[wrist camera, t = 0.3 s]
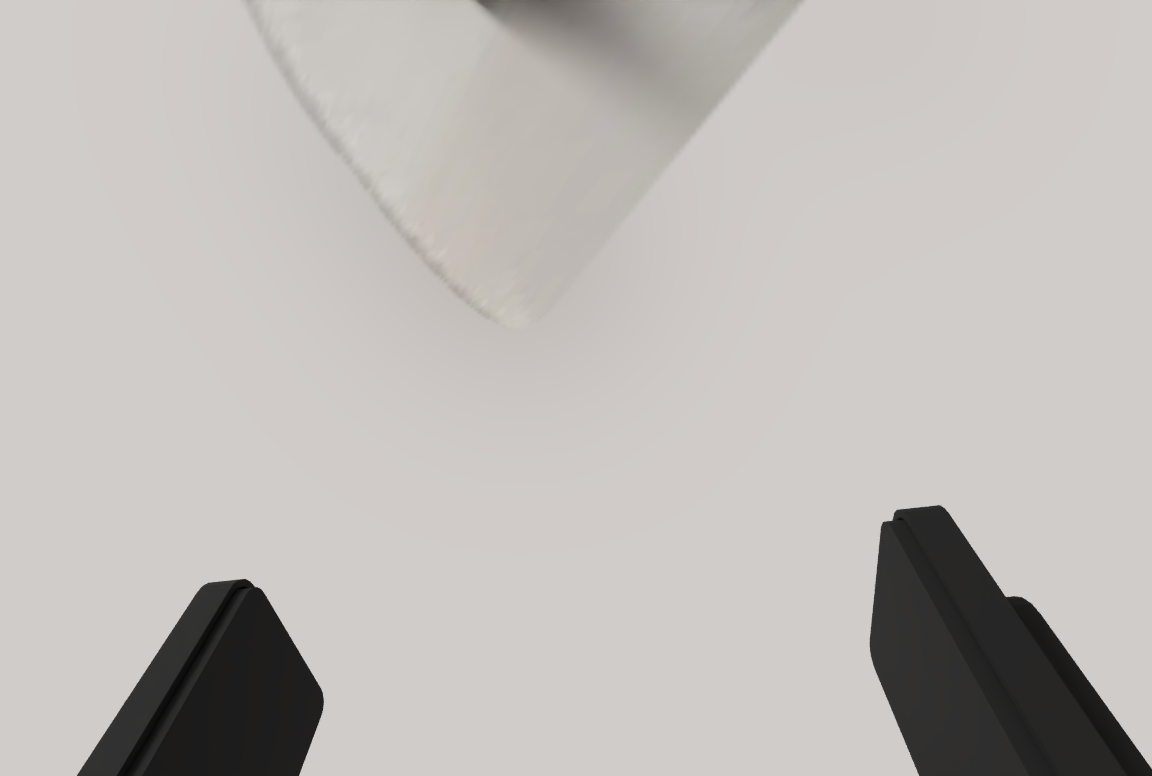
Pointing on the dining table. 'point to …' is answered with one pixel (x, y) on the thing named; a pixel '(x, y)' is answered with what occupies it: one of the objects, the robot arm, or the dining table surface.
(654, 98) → the dining table surface
